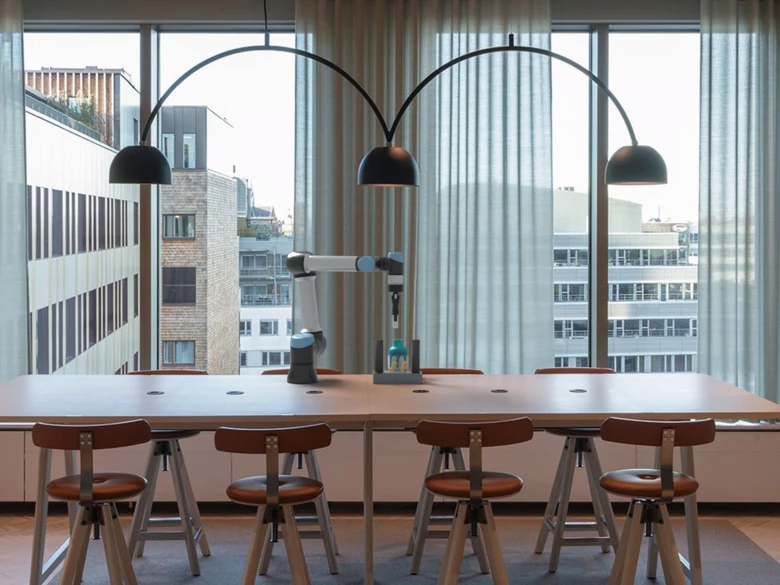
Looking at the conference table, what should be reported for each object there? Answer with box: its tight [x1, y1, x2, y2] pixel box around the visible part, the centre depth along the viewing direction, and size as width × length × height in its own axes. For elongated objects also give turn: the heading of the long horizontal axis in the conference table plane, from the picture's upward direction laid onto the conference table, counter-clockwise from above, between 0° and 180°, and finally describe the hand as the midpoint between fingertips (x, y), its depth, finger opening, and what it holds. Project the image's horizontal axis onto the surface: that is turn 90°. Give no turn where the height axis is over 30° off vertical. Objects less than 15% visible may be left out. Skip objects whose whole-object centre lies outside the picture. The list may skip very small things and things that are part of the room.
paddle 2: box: [400, 361, 407, 371], centre depth 467 cm, size 2×3×4 cm, turn 2°
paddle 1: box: [390, 361, 397, 371], centre depth 467 cm, size 2×3×4 cm, turn 2°
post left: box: [374, 339, 384, 373], centre depth 467 cm, size 4×4×16 cm
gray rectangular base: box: [372, 370, 423, 385], centre depth 467 cm, size 24×10×5 cm, turn 91°
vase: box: [387, 338, 409, 371], centre depth 487 cm, size 11×11×19 cm
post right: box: [411, 338, 421, 373], centre depth 467 cm, size 4×4×16 cm
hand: (394, 326), depth 467 cm, fingers open, 13 cm apart
